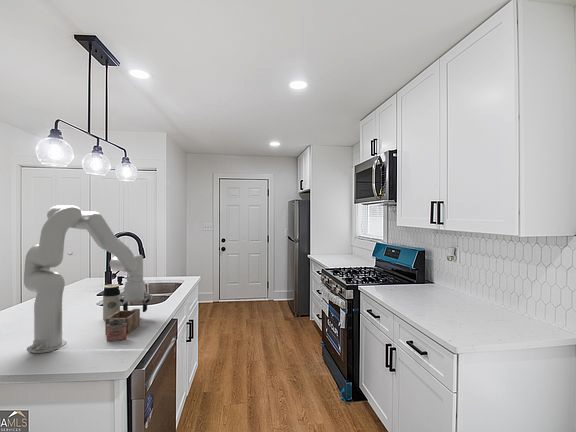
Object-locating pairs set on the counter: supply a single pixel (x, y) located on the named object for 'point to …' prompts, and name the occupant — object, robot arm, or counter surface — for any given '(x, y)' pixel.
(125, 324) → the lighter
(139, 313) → the lid
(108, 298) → the travel mug
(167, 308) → the counter surface
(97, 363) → the counter surface
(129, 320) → the box
